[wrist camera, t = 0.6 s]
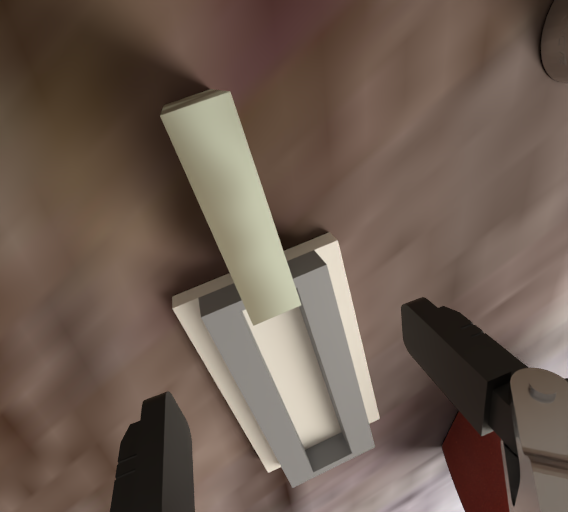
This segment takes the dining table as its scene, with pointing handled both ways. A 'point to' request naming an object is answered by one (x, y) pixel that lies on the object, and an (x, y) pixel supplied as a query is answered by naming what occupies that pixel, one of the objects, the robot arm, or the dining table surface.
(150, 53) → the dining table surface
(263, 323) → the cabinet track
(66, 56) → the dining table surface
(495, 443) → the plant pot
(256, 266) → the door panel
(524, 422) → the robot arm
